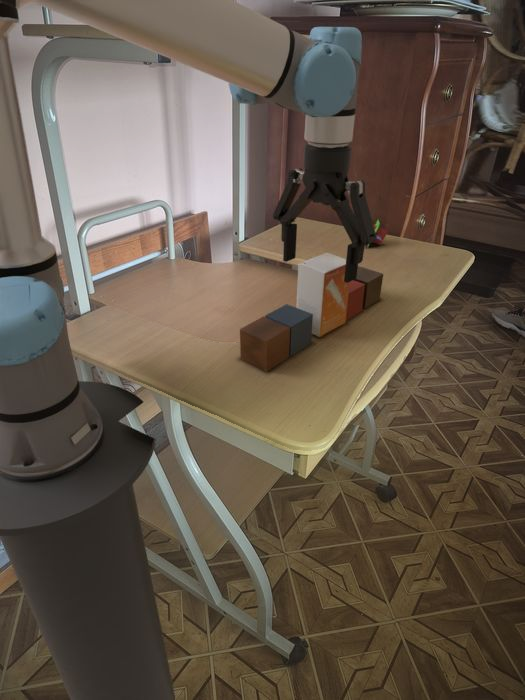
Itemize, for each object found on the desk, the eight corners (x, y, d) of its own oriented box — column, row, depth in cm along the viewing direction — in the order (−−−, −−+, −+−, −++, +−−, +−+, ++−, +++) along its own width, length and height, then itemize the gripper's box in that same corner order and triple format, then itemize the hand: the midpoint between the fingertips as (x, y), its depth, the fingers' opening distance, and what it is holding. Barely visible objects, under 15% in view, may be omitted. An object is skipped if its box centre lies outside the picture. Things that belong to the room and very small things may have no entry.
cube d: (340, 300, 106) (342, 274, 102) (356, 291, 109) (358, 266, 106) (364, 309, 102) (367, 282, 99) (379, 299, 106) (383, 273, 103)
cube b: (264, 344, 91) (264, 315, 87) (286, 332, 94) (286, 303, 91) (290, 356, 87) (291, 326, 84) (311, 343, 91) (312, 314, 88)
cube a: (240, 359, 87) (239, 329, 83) (263, 345, 90) (263, 316, 87) (266, 372, 83) (266, 341, 80) (289, 357, 87) (290, 327, 84)
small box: (319, 338, 92) (324, 273, 85) (294, 326, 96) (297, 263, 89) (346, 323, 97) (353, 260, 90) (321, 312, 101) (325, 251, 94)
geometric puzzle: (391, 233, 135) (375, 209, 132) (394, 241, 130) (378, 217, 127) (367, 247, 138) (352, 224, 135) (370, 256, 132) (354, 233, 129)
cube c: (320, 312, 101) (322, 285, 98) (337, 302, 105) (340, 275, 102) (345, 321, 98) (348, 294, 95) (362, 311, 102) (365, 284, 98)
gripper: (411, 151, 74) (390, 282, 85) (283, 131, 88) (279, 247, 99) (385, 158, 69) (366, 296, 80) (254, 136, 83) (253, 257, 94)
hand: (318, 269), depth 90 cm, fingers open, 13 cm apart
